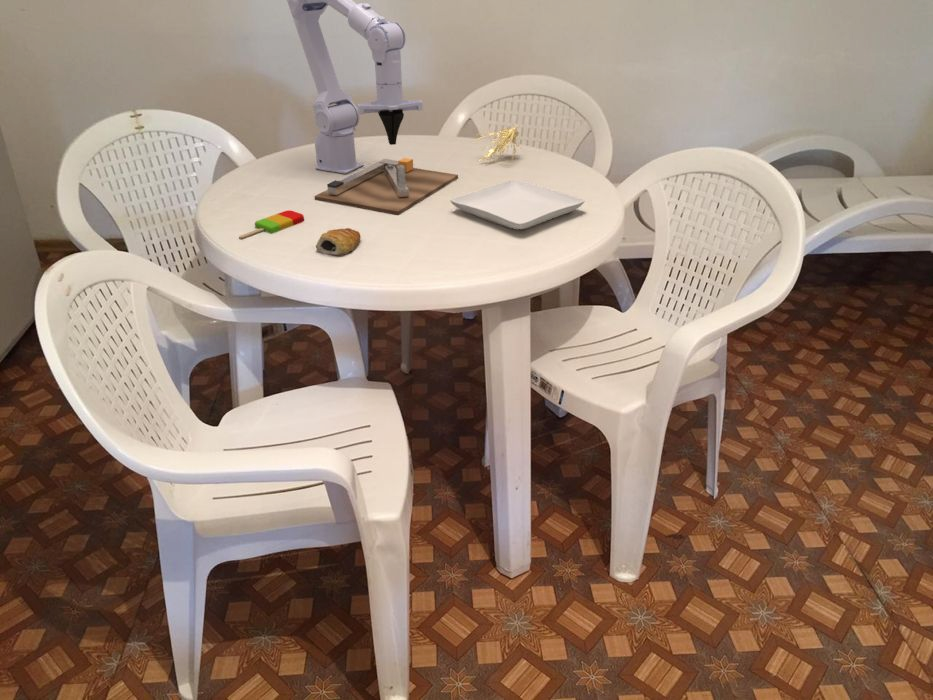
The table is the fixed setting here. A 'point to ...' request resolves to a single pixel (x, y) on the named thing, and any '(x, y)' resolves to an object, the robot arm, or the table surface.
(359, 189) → the walnut board
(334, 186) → the tongs frame
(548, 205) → the salad plate
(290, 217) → the popsicle
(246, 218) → the table surface
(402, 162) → the orange block
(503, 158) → the table surface
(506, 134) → the crumpled gold foil
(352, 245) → the pastry
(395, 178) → the bar
